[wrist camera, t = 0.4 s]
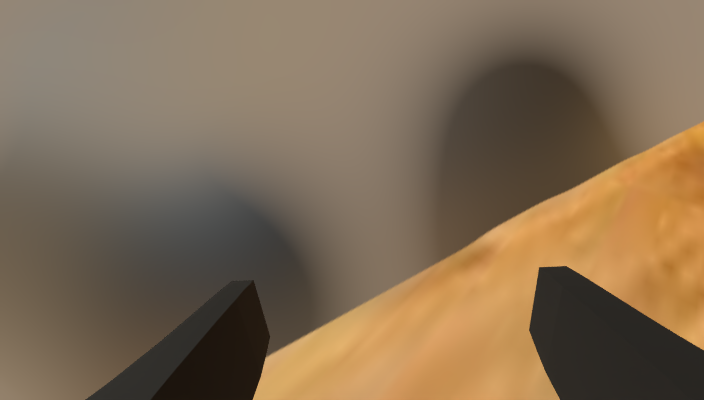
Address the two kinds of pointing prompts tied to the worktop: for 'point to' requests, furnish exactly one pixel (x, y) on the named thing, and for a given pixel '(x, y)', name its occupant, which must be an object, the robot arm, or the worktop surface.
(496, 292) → the worktop surface
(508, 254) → the worktop surface
